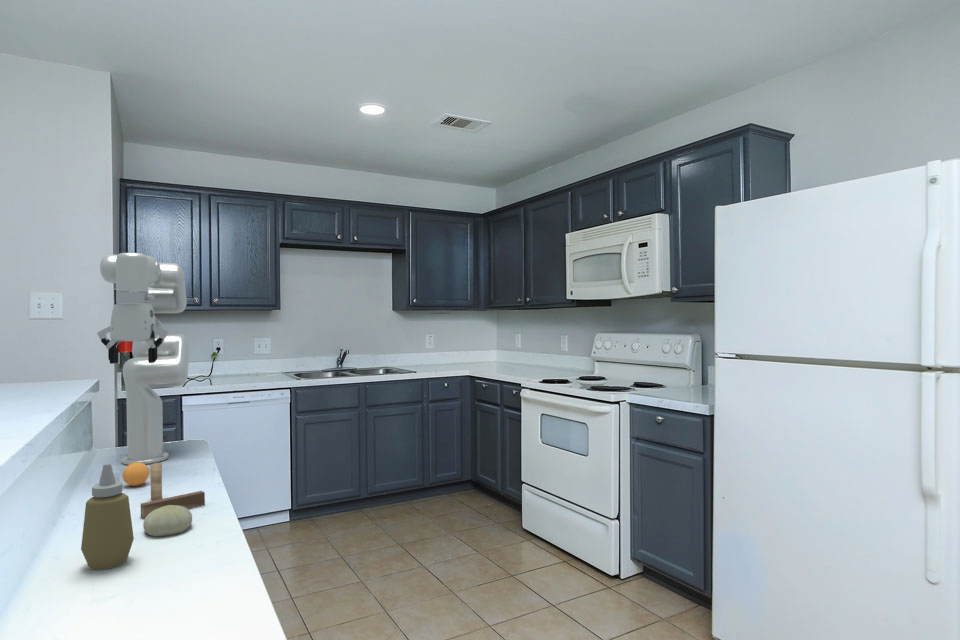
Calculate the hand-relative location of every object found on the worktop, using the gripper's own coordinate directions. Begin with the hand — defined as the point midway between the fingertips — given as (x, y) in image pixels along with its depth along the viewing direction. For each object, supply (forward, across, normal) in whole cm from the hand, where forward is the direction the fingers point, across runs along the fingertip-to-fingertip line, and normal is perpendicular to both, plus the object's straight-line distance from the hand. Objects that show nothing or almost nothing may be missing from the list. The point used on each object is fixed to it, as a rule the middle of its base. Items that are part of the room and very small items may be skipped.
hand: (133, 363), depth 159 cm
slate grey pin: (+32, -5, +23) cm, 40 cm away
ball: (+29, -2, +5) cm, 29 cm away
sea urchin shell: (+33, -23, +39) cm, 56 cm away
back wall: (+32, -20, +27) cm, 46 cm away
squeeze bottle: (+33, -19, +55) cm, 67 cm away
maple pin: (+32, -12, +17) cm, 38 cm away
